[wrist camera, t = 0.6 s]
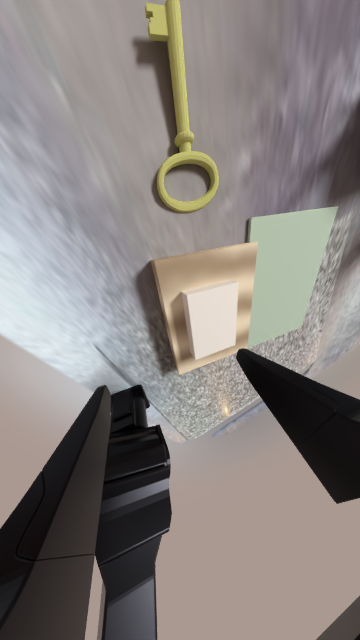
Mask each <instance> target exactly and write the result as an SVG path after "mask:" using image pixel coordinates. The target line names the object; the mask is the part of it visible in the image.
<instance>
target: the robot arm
mask: <svg viewBox="0 0 360 640" xmlns="http://www.w3.org/2000/svg"><path fill="white" fill-rule="evenodd" d="M236 359H237V361H238V363H239V365H240V366H241V368H242V370H243V372H244V373H245V375H246V377H247V378H248V380H249V381H250V383H251V384H252V386H253V387H254V388H255V390H256V391H257V393H258V394H259V395H260V397H261V398H262V400H263V401H264V403H265V404H266V405H267V407H268V408H269V410H270V411H271V412H272V414H273V415H274V417H275V418H276V419H277V421H278V422H279V424H280V425H281V426H282V428H283V429H284V431H285V432H286V433H287V435H288V436H289V438H290V439H291V441H292V442H293V443H294V445H295V446H296V448H297V449H298V450H299V452H300V453H301V455H302V456H303V458H304V459H305V461H306V462H307V463H308V465H309V466H310V468H311V469H312V470H313V472H314V473H315V475H316V476H317V477H318V479H319V480H320V482H321V483H322V484H323V486H324V487H325V489H326V490H327V492H328V493H329V494H330V496H331V497H332V499H333V500H334V501H335V502H336V503H337V504H338V503H342V502H346V501H350V500H354V499H357V498H360V400H359V399H356V398H354V397H352V396H349V395H347V394H344V393H342V392H339V391H337V390H334V389H332V388H330V387H327V386H325V385H323V384H320V383H318V382H316V381H313V380H311V379H309V378H307V377H305V376H303V375H301V374H298V373H296V372H294V371H292V370H290V369H288V368H286V367H284V366H281V365H279V364H277V363H275V362H273V361H271V360H269V359H266V358H264V357H262V356H260V355H258V354H256V353H254V352H252V351H249V350H247V349H245V348H241V349H239V350H238V352H237V356H236ZM149 407H150V403H149V401H148V399H147V396H146V394H145V392H144V389H143V387H142V385H137V386H135V387H132V388H129V389H127V390H124V391H122V392H119V393H117V394H114V395H111V394H110V392H109V390H108V388H107V386H106V385H104V386H100V387H98V388H97V389H96V390H95V392H94V394H93V395H92V397H91V398H90V399H89V401H88V402H87V404H86V405H85V407H84V408H83V410H82V411H81V413H80V414H79V416H78V417H77V419H76V420H75V422H74V423H73V425H72V426H71V428H70V429H69V431H68V432H67V433H66V435H65V436H64V438H63V439H62V441H61V442H60V444H59V445H58V447H57V448H56V450H55V451H54V453H53V454H52V456H51V457H50V459H49V460H48V462H47V463H46V465H45V466H44V468H43V470H42V471H41V472H40V473H39V475H38V476H37V478H36V479H35V481H34V482H33V484H32V485H31V487H30V488H29V490H28V491H27V493H26V494H25V495H24V497H23V498H22V500H21V501H20V503H19V504H18V506H17V507H16V508H15V510H14V511H13V512H12V514H11V515H10V516H9V518H8V519H7V520H6V522H5V523H4V524H3V526H2V527H1V529H0V640H84V639H85V630H86V621H87V614H88V605H89V598H90V589H91V581H92V573H93V564H94V556H96V560H97V564H98V567H99V570H100V572H101V576H102V579H103V584H102V594H101V605H100V615H99V625H98V636H97V640H157V615H156V614H157V613H156V582H155V561H156V556H157V553H158V549H159V545H160V541H161V537H162V535H163V534H165V533H167V532H168V531H169V528H170V522H171V515H172V511H171V503H170V494H169V481H168V479H169V477H170V455H169V451H168V447H167V444H166V442H165V439H164V436H163V433H162V430H161V427H160V425H156V426H152V427H148V424H147V416H146V409H147V408H149ZM110 416H111V418H110ZM94 553H95V554H94ZM317 640H360V596H359V597H358V598H357V599H356V600H355V601H354V602H353V603H352V604H351V605H350V606H349V607H348V608H347V609H346V610H345V611H344V612H343V613H342V614H341V615H340V616H339V617H338V618H337V619H336V620H335V621H334V622H333V623H332V624H331V625H330V626H329V627H328V628H327V629H326V630H325V631H324V632H323V633H322V634H321V635H320V636H319V637H318V638H317Z"/></svg>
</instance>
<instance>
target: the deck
mask: <svg viewBox="0 0 360 640" xmlns="http://www.w3.org/2000/svg"><path fill="white" fill-rule="evenodd" d="M257 247H258V242H251V243H242V244H237V245H231V246H226V247H220V248H215V249H210V250H204V251H199V252H193V253H188V254H182V255H177V256H171V257H166V258H161V259H155V260H151V265H152V269H153V273H154V278H155V282H156V286H157V291H158V295H159V299H160V304H161V308H162V312H163V317H164V321H165V325H166V330H167V334H168V338H169V342H170V347H171V351H172V355H173V360H174V364H175V366H176V368H177V371H178V373H179V375H181V374H183V373H186V372H188V371H191V370H193V369H196V368H198V367H201V366H203V365H206V364H209V363H211V362H214V361H216V360H219V359H221V358H224V357H226V356H229V355H231V354H234V353H236V352H238V350H239V349H241V348H245V349H246V348H247V347H248V337H249V327H250V317H251V307H252V297H253V287H254V277H255V267H256V257H257ZM225 280H232V281H237V282H238V303H237V324H236V345H234V346H231V347H229V348H226V349H224V350H221V351H218V352H216V353H213V354H210V355H208V356H205V357H203V358H200V359H197V360H195V359H194V357H193V355H192V354H191V352H190V347H189V340H188V334H187V327H186V320H185V314H184V307H183V300H182V294H181V291H185V290H189V289H193V288H197V287H201V286H205V285H209V284H213V283H217V282H221V281H225Z"/></svg>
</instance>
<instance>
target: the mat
mask: <svg viewBox="0 0 360 640" xmlns="http://www.w3.org/2000/svg"><path fill="white" fill-rule="evenodd" d="M337 209H338V206H335V207H328V208H320V209H313V210H305V211H298V212H291V213H283V214H276V215H268V216H261V217H254V218H249V224H248V238H247V243H251V242H258V247H257V257H256V267H255V277H254V287H253V297H252V307H251V317H250V327H249V337H248V347H247V348H250V347H252V346H255V345H257V344H260V343H262V342H265V341H267V340H270V339H272V338H275V337H277V336H280V335H282V334H285V333H287V332H290V331H292V330H295V329H298V328H300V327H302V323H303V320H304V317H305V314H306V310H307V307H308V304H309V300H310V297H311V294H312V291H313V287H314V284H315V281H316V278H317V274H318V271H319V268H320V265H321V261H322V258H323V255H324V251H325V248H326V245H327V242H328V238H329V235H330V232H331V229H332V225H333V222H334V219H335V216H336V212H337ZM247 348H246V349H247Z"/></svg>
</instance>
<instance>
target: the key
mask: <svg viewBox="0 0 360 640" xmlns="http://www.w3.org/2000/svg"><path fill="white" fill-rule="evenodd" d="M145 13H146V18H149V19H150V21H149V24H148V34H149V40H155V41H165V42H167V43H168V52H169V61H170V70H171V79H172V88H173V98H174V107H175V116H176V125H177V134H178V135H177V136H176V138H175V145H176V146H177V147H179V152H180V153H177V154H174V155H173V156H171V157H169V158H168V159H166V161H165V162H164V163H163V164H162V165H161V166H160V169H159V171H158V175H157V190H158V193H159V196H160V198H161V200H162V201H163V202H164V204H165V205H166V206H168V207H169V208H171V209H172V210H174V211H177V212H181V213H188V212H194V211H197V210H200V209H202V208H203V207H204V206H206V205H207V204H208V203H209V202H210V201H211V199H212V198H213V196H214V195H215V193H216V191H217V188H218V181H219V176H218V170H217V167H216V165H215V163H214V161H213V160H212V159H211V158H210V157H209V156H207V155H206V154H204V153H201V152H196V151H191V144H192V143H193V141H194V135H193V133H192V132H190V130H189V117H188V104H187V91H186V79H185V66H184V53H183V40H182V28H181V15H180V3H179V0H167V1H166V2H165V6H164V5H157V4H151V3H146V6H145ZM182 164H196V165H199V166H201V167H203V168H204V169H206V170H207V172H208V173H209V176H210V180H211V185H210V189H209V191H208V192H207V193H206V194H205V195H204V196H202V197H201V198H199V199H197V200H194V201H190V202H181V201H177V200H174V199H172V198H171V197H169V195H168V194H167V193H166V191H165V188H164V177H165V175H166V173H167V172H168V171H169V170H170V169H172V168H173V167H175V166H178V165H182Z"/></svg>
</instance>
